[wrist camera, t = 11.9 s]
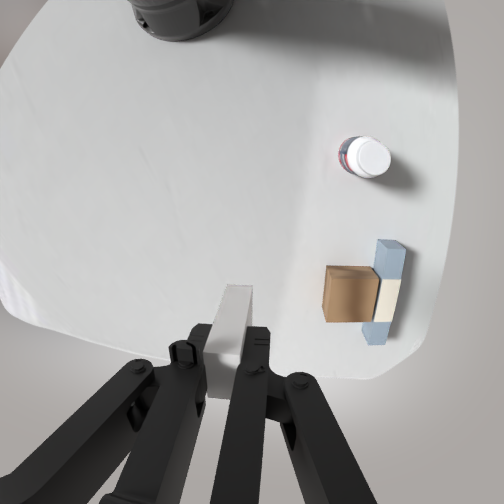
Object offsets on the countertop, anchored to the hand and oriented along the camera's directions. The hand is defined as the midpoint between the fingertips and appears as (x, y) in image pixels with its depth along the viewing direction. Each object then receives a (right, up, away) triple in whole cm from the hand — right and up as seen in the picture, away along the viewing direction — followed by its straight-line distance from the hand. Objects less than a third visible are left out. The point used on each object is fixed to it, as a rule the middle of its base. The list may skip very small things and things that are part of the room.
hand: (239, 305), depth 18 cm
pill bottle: (+15, +17, +21) cm, 31 cm away
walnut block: (+15, -2, +28) cm, 32 cm away
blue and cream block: (+21, -3, +27) cm, 34 cm away
